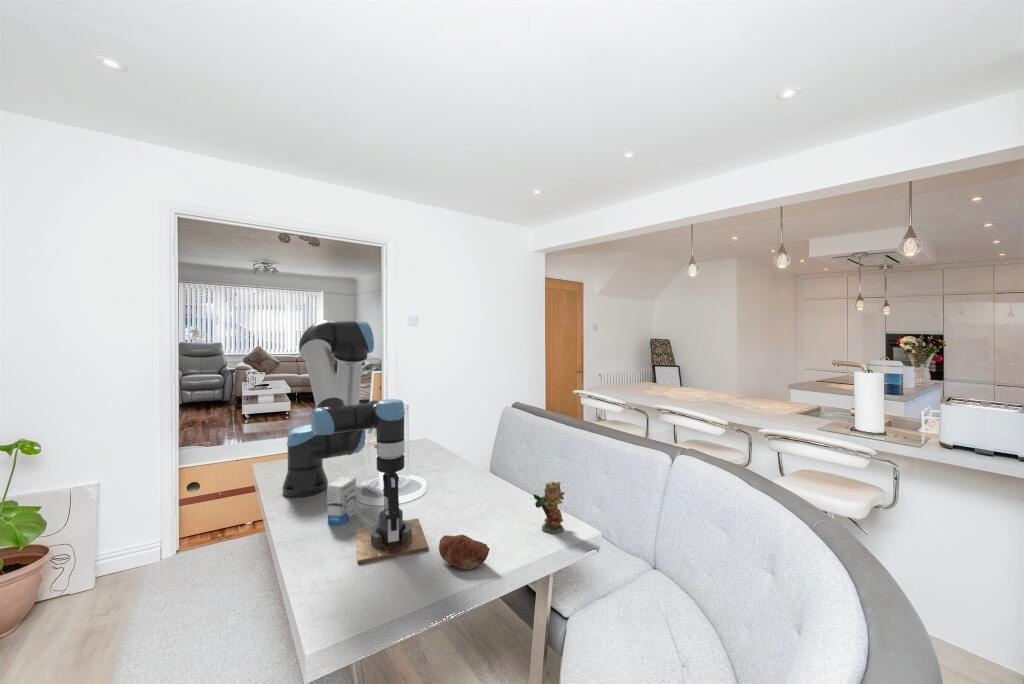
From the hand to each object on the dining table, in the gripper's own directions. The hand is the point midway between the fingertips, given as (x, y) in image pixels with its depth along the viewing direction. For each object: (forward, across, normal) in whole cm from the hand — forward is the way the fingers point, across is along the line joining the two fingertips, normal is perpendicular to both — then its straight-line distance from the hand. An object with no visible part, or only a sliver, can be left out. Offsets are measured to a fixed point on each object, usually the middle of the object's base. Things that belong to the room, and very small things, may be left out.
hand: (391, 529), depth 117 cm
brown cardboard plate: (+3, 0, 0) cm, 3 cm away
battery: (+2, 0, 0) cm, 2 cm away
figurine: (+3, +10, +45) cm, 46 cm away
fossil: (+3, +18, +16) cm, 24 cm away
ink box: (+3, -20, -13) cm, 24 cm away
